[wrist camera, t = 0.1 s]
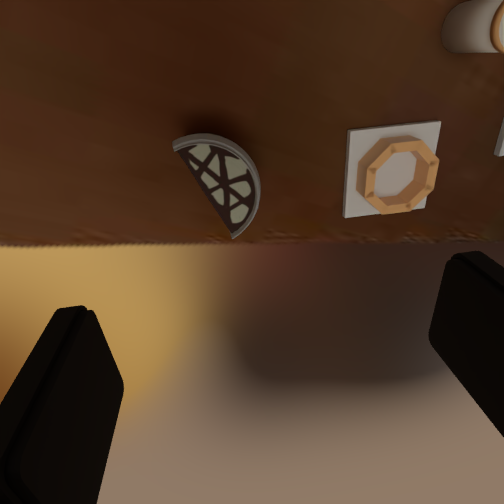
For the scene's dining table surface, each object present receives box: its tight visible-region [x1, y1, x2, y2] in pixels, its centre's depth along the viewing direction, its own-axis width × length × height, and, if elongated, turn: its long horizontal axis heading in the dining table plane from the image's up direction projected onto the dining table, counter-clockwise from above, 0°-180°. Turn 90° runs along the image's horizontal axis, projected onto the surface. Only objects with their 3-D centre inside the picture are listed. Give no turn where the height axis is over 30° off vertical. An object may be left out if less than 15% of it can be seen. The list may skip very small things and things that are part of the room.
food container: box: [172, 133, 261, 239], centre depth 39 cm, size 12×6×10 cm, turn 28°
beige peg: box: [441, 0, 504, 54], centre depth 35 cm, size 5×5×10 cm
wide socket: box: [342, 120, 441, 218], centre depth 45 cm, size 12×12×4 cm
